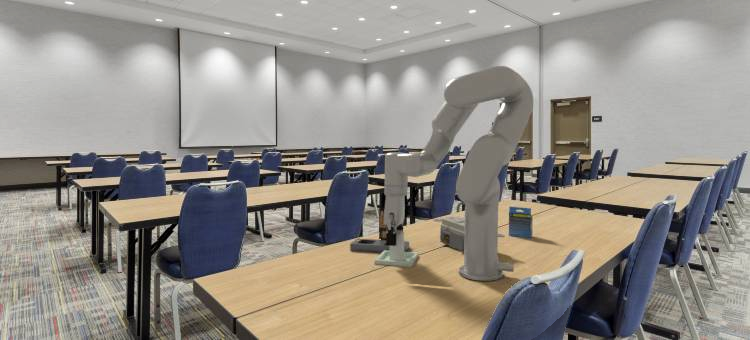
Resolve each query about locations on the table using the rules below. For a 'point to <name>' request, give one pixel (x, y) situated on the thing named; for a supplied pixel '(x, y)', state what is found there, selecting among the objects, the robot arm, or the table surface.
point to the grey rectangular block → (398, 247)
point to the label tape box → (520, 222)
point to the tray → (407, 261)
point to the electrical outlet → (453, 232)
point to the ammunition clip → (382, 228)
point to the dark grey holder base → (373, 245)
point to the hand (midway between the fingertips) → (394, 241)
